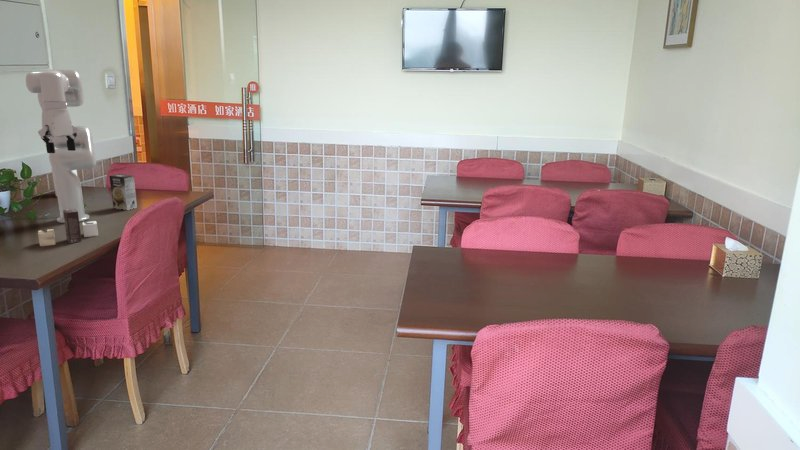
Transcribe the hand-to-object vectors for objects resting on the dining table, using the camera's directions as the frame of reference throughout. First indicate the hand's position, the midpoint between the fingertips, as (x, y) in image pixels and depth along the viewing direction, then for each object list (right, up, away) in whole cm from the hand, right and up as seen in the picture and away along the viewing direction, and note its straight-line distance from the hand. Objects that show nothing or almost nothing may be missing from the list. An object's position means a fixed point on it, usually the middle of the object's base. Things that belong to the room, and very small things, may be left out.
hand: (61, 151), depth 222 cm
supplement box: (-46, -12, +84) cm, 97 cm away
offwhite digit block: (+5, -32, +12) cm, 35 cm away
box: (+3, -34, +4) cm, 35 cm away
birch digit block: (-5, -35, -1) cm, 36 cm away
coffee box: (-2, -20, +55) cm, 59 cm away
